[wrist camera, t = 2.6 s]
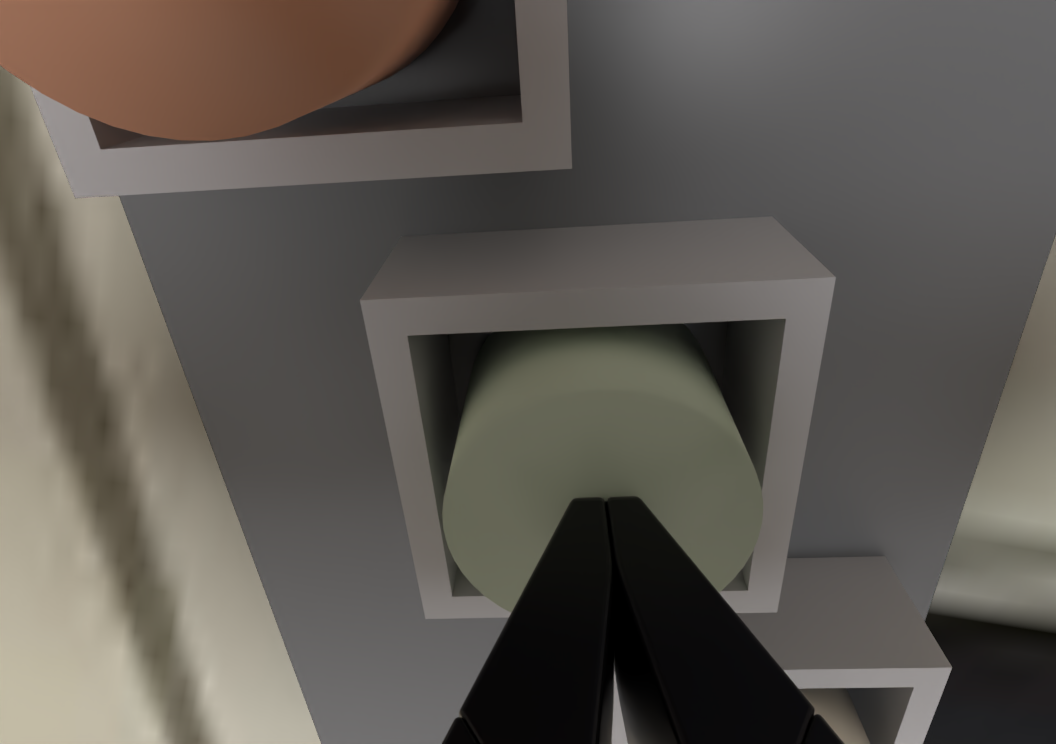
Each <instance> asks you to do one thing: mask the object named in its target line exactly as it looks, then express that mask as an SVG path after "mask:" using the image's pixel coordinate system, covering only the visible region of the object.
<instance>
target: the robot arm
mask: <svg viewBox="0 0 1056 744" xmlns="http://www.w3.org/2000/svg"><path fill="white" fill-rule="evenodd" d="M614 667H615V676H616V683H617V689H618V696H619V701H620V706H621V712H622V717H623V722H624V727H625V732H626V737H627V742H628V744H844V742H843V741H842V740H841V739H840V738H839V736H838V735H837V734H836V733H835V732H834V730H833V729H832V728H831V727H830V725H829V724H828V723H827V722H826V721H825V719H824V718H823V717H822V716H821V715H820V714H815V715H814V713H815V709H814V707H813V705H812V704H811V703H810V702H809V701H808V699H807V698H806V697H805V696H804V695H803V693H802V692H801V691H800V690H799V688H798V687H797V686H796V685H795V684H794V682H793V681H792V680H791V679H790V678H789V676H788V675H787V674H786V673H785V672H784V670H783V669H782V668H781V667H780V666H779V664H778V663H777V662H776V661H775V660H774V658H773V657H772V656H771V655H770V654H769V652H768V651H767V650H766V649H765V648H764V646H763V645H762V644H761V643H760V642H759V640H758V639H757V638H756V637H755V635H754V634H753V633H752V632H751V631H750V629H749V628H748V627H747V626H746V625H745V623H744V622H743V621H742V620H741V619H740V617H739V616H738V615H737V614H736V613H735V611H734V610H733V609H732V608H731V607H730V605H729V604H728V603H727V602H726V601H725V599H724V598H723V597H722V596H721V595H720V593H719V592H718V591H717V590H716V589H715V587H714V586H713V585H712V584H711V582H710V581H709V580H708V579H707V578H706V576H705V575H704V574H703V573H702V572H701V570H700V569H699V568H698V567H697V566H696V564H695V563H694V562H693V561H692V560H691V558H690V557H689V556H688V555H687V554H686V552H685V551H684V550H683V549H682V548H681V546H680V545H679V544H678V543H677V542H676V540H675V539H674V538H673V537H672V536H671V534H670V533H669V532H668V531H667V529H666V528H665V527H664V526H663V525H662V523H661V522H660V521H659V520H658V519H657V517H656V516H655V515H654V514H653V513H652V511H651V510H650V509H649V508H648V507H647V505H646V504H645V503H644V502H643V501H642V499H641V498H639V497H637V496H618V497H609V498H608V499H607V500H606V503H605V500H604V499H603V498H601V497H584V498H574V499H572V500H571V502H570V503H569V505H568V507H567V509H566V510H565V512H564V514H563V516H562V518H561V520H560V522H559V524H558V526H557V527H556V529H555V531H554V533H553V535H552V537H551V539H550V541H549V543H548V544H547V546H546V548H545V550H544V552H543V554H542V556H541V558H540V560H539V561H538V563H537V565H536V567H535V569H534V571H533V573H532V575H531V576H530V578H529V580H528V582H527V584H526V586H525V588H524V590H523V592H522V593H521V595H520V597H519V599H518V601H517V603H516V605H515V607H514V609H513V610H512V612H511V614H510V616H509V618H508V620H507V622H506V624H505V626H504V627H503V629H502V631H501V633H500V635H499V637H498V639H497V641H496V642H495V644H494V646H493V648H492V650H491V652H490V654H489V656H488V658H487V659H486V661H485V663H484V665H483V667H482V669H481V671H480V673H479V675H478V676H477V678H476V680H475V682H474V684H473V686H472V688H471V690H470V692H469V693H468V695H467V697H466V699H465V701H464V703H463V705H462V707H461V708H460V711H459V717H457V718H455V719H454V721H453V723H452V725H451V727H450V728H449V730H448V732H447V734H446V736H445V738H444V740H443V742H442V744H612V726H613V705H614Z"/></svg>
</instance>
